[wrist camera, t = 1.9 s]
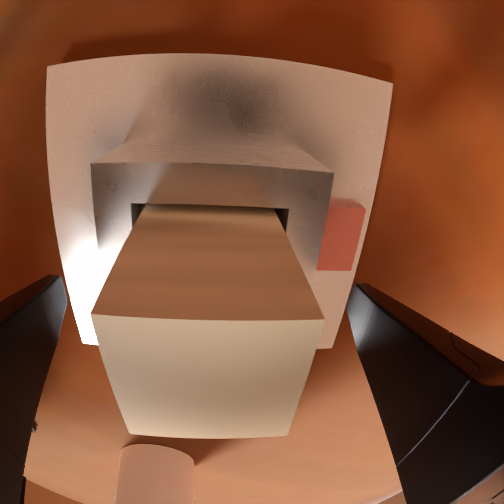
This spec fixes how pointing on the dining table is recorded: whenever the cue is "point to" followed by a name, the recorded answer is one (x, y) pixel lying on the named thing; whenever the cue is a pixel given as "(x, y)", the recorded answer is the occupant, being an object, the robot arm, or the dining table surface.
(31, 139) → the dining table surface
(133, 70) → the sleeve stand
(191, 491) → the cylindrical container
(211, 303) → the post
